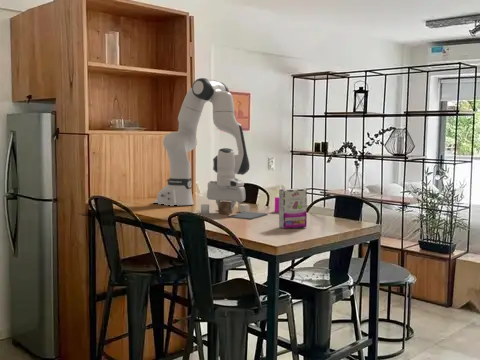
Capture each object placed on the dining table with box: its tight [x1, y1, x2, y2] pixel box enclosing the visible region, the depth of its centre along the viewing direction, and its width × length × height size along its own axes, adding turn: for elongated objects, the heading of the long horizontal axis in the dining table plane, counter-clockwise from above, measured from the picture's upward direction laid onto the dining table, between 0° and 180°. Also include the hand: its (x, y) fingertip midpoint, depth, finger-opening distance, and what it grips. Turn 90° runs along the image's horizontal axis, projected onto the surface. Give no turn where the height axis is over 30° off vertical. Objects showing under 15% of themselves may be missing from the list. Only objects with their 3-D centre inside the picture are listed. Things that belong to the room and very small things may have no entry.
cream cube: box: [238, 203, 251, 213], centre depth 274 cm, size 4×4×4 cm
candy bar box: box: [278, 187, 308, 230], centre depth 231 cm, size 11×5×16 cm, turn 114°
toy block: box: [274, 196, 279, 213], centre depth 280 cm, size 15×6×8 cm, turn 125°
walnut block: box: [218, 200, 234, 215], centre depth 267 cm, size 5×5×6 cm
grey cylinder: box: [200, 203, 210, 215], centre depth 264 cm, size 4×4×5 cm
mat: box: [227, 211, 268, 221], centre depth 260 cm, size 12×18×1 cm, turn 152°
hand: (225, 209), depth 267 cm, fingers closed on walnut block, 5 cm apart
